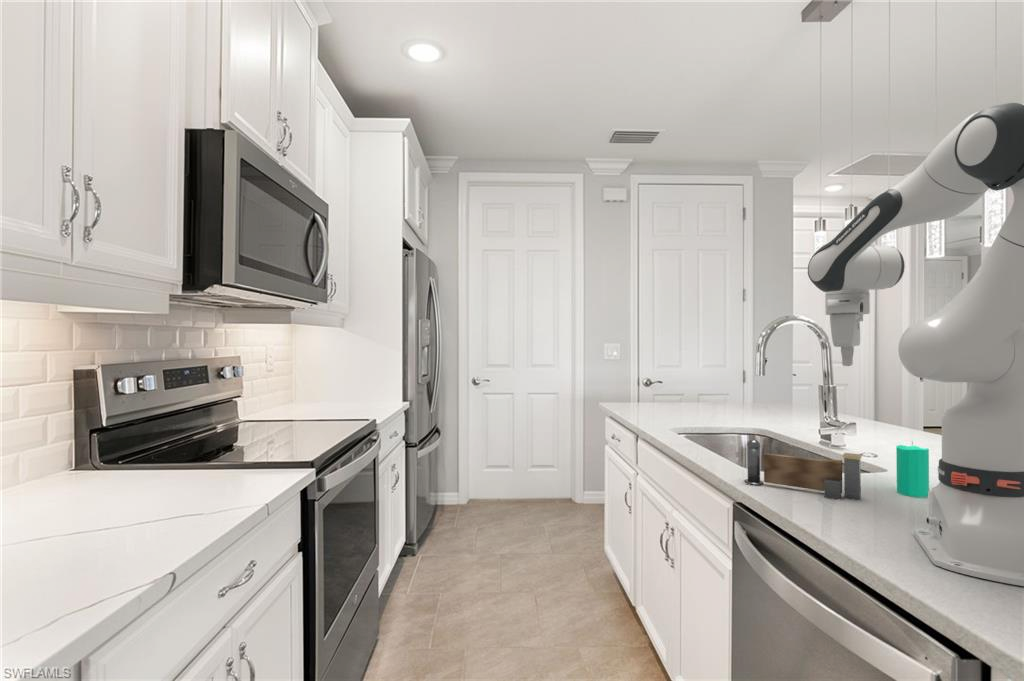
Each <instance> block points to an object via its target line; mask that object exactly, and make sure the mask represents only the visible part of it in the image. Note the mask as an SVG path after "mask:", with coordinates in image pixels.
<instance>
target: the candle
mask: <svg viewBox="0 0 1024 681" xmlns="http://www.w3.org/2000/svg"><path fill="white" fill-rule="evenodd" d="M913 444H914V443H913V440H911V445H910V446H909V445H908V446H907V445H902V444H899V445H896V452H895V454H896V493H897V494H900V495H902V496H906V497H907V496H908V497H911V498H912V497H913V498H928V491H929V490H930V452H929V451H930V450H929V448H926V447H925V448H923V447H920V446H917V445H913Z"/></svg>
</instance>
